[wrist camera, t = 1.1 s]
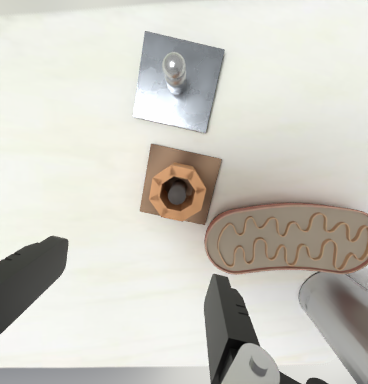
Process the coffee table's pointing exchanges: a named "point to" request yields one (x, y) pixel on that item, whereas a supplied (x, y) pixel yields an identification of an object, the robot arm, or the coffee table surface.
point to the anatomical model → (288, 239)
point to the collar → (190, 203)
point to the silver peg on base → (177, 82)
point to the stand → (180, 186)
